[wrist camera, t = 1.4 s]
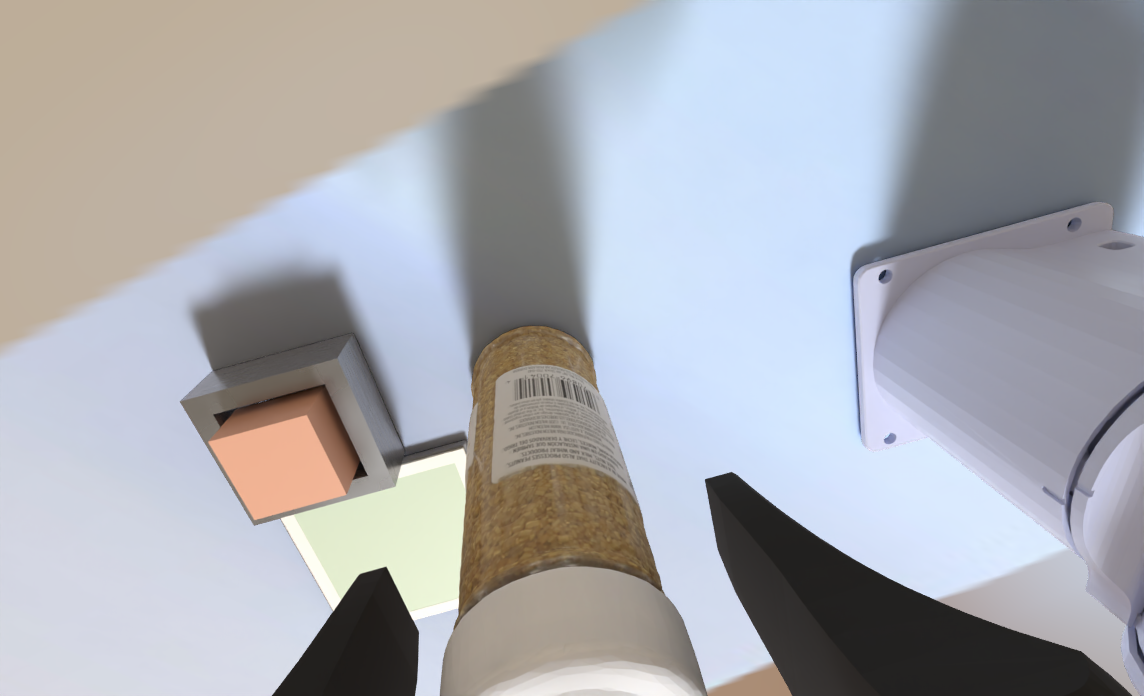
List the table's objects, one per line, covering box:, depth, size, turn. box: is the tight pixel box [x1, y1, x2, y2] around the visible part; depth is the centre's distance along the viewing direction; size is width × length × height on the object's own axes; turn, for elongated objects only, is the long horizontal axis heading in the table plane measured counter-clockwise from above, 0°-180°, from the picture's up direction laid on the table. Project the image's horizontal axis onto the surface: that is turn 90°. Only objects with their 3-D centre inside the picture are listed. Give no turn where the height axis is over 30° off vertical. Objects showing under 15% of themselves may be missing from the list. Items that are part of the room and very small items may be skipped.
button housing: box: [180, 333, 405, 526], centre depth 20 cm, size 5×5×2 cm
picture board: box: [280, 440, 467, 620], centre depth 24 cm, size 8×8×1 cm
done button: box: [208, 385, 360, 520], centre depth 19 cm, size 3×3×2 cm
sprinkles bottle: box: [440, 326, 707, 696], centre depth 15 cm, size 5×5×14 cm
